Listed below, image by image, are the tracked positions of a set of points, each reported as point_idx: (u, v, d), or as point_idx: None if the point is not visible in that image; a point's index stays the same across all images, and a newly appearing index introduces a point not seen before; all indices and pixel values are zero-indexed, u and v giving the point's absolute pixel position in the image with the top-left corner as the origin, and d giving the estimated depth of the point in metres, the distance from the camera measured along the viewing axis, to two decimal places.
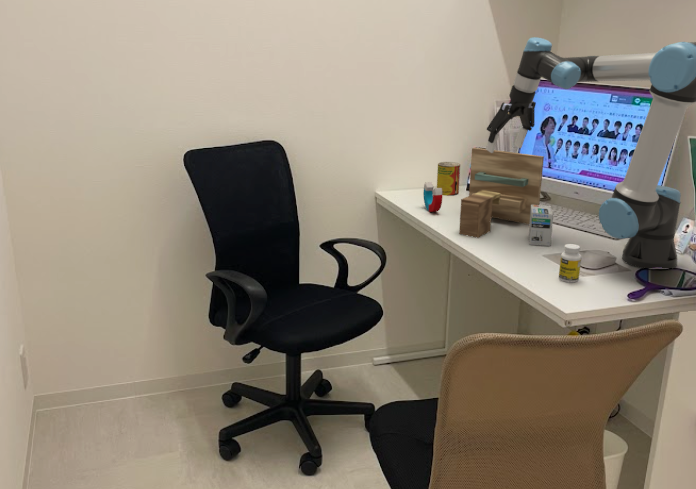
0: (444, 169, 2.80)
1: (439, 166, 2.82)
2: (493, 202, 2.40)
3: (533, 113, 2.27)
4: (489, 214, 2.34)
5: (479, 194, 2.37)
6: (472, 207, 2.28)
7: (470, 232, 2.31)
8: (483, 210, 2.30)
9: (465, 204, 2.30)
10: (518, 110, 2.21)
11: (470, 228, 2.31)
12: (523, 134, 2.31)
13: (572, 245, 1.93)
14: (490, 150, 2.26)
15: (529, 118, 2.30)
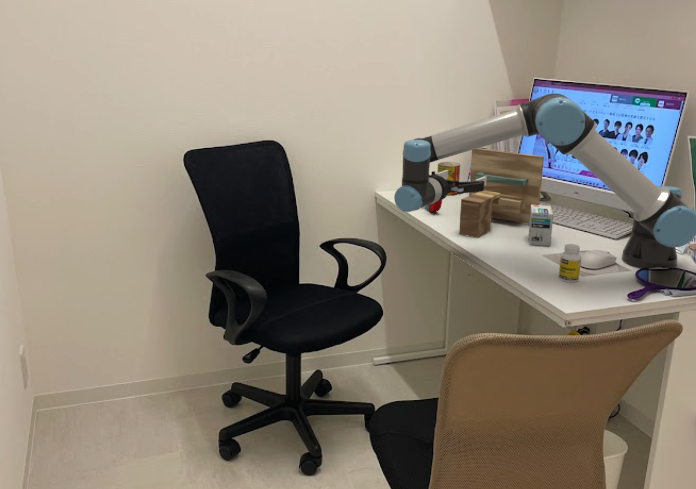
0: (444, 169, 2.80)
1: (439, 166, 2.82)
2: (493, 202, 2.40)
3: None
4: (489, 214, 2.34)
5: (479, 194, 2.37)
6: (472, 207, 2.28)
7: (470, 232, 2.31)
8: (483, 210, 2.30)
9: (465, 204, 2.30)
10: (448, 180, 2.09)
11: (470, 228, 2.31)
12: (440, 174, 2.22)
13: (572, 245, 1.93)
14: (485, 179, 2.17)
15: None
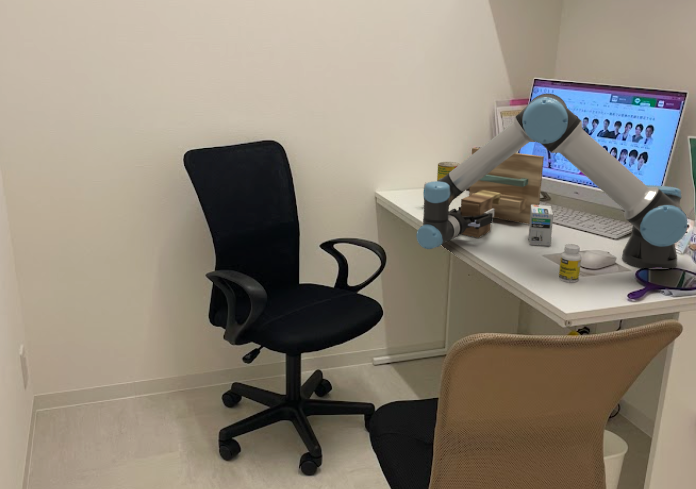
0: (445, 169, 2.80)
1: (439, 166, 2.82)
2: (493, 202, 2.40)
3: (448, 212, 2.31)
4: None
5: (479, 194, 2.37)
6: (472, 207, 2.28)
7: (470, 232, 2.31)
8: (483, 210, 2.30)
9: (465, 204, 2.30)
10: (465, 216, 2.23)
11: (470, 228, 2.31)
12: None
13: (572, 245, 1.93)
14: (493, 211, 2.34)
15: None
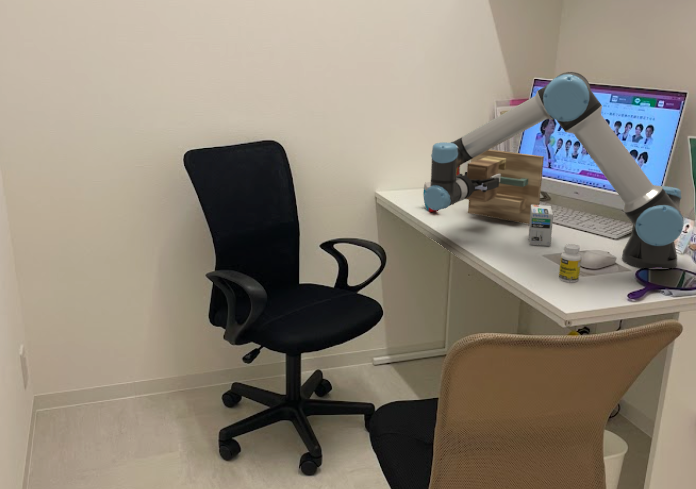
0: None
1: None
2: (499, 168, 2.39)
3: None
4: None
5: (485, 159, 2.36)
6: (478, 171, 2.28)
7: (476, 196, 2.31)
8: (490, 174, 2.29)
9: (471, 168, 2.29)
10: None
11: (477, 192, 2.30)
12: None
13: (572, 245, 1.93)
14: (499, 176, 2.34)
15: None
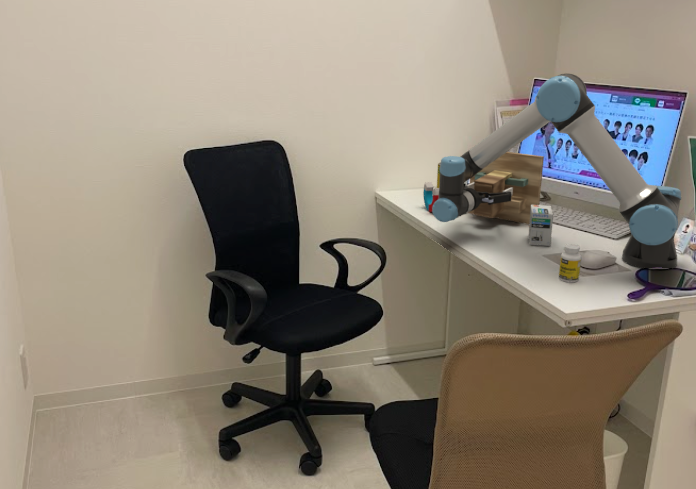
0: None
1: (439, 166, 2.82)
2: None
3: None
4: None
5: (491, 174, 2.42)
6: (485, 188, 2.34)
7: (484, 212, 2.37)
8: (496, 190, 2.35)
9: (478, 185, 2.35)
10: (479, 192, 2.28)
11: (484, 209, 2.37)
12: (470, 185, 2.41)
13: (572, 245, 1.93)
14: (512, 190, 2.37)
15: None
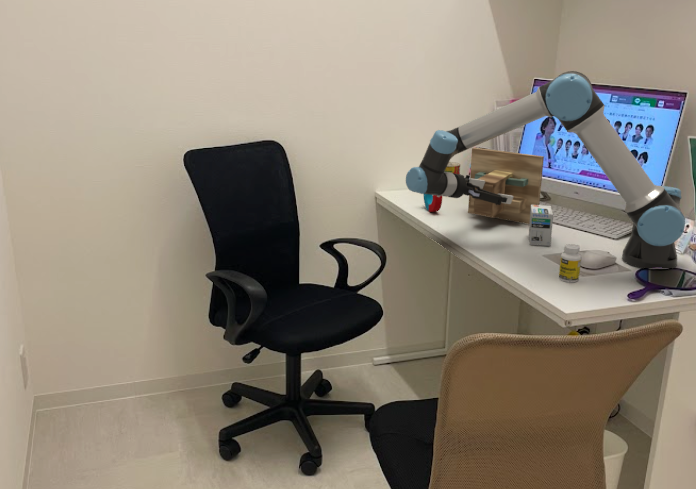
0: None
1: None
2: None
3: None
4: None
5: (492, 174, 2.42)
6: (486, 187, 2.34)
7: (484, 212, 2.37)
8: (497, 190, 2.35)
9: None
10: (470, 183, 2.18)
11: (484, 208, 2.37)
12: (474, 180, 2.30)
13: (572, 245, 1.93)
14: (511, 198, 2.23)
15: None
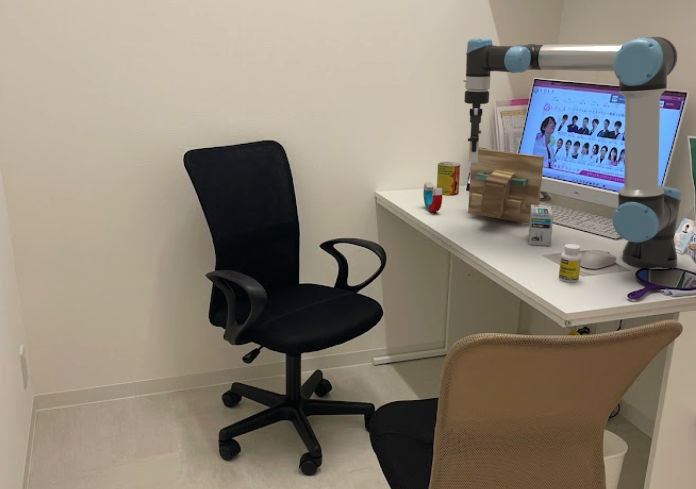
0: (444, 169, 2.80)
1: (439, 166, 2.82)
2: None
3: None
4: (507, 194, 2.39)
5: (496, 174, 2.40)
6: (496, 187, 2.32)
7: (492, 212, 2.35)
8: (506, 190, 2.34)
9: (489, 184, 2.32)
10: None
11: (492, 208, 2.35)
12: None
13: (572, 245, 1.93)
14: (475, 160, 2.17)
15: None
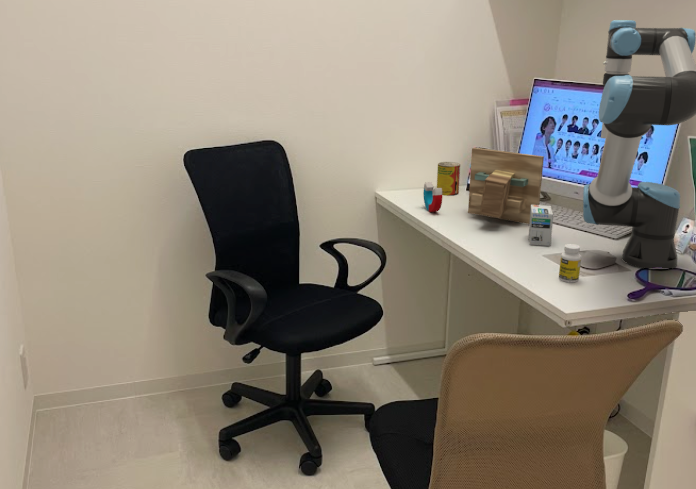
0: (444, 169, 2.80)
1: (439, 166, 2.82)
2: None
3: None
4: (507, 194, 2.39)
5: (496, 174, 2.40)
6: (496, 187, 2.32)
7: (492, 212, 2.35)
8: (506, 190, 2.34)
9: (489, 184, 2.32)
10: None
11: (492, 208, 2.35)
12: None
13: (572, 245, 1.93)
14: None
15: None
